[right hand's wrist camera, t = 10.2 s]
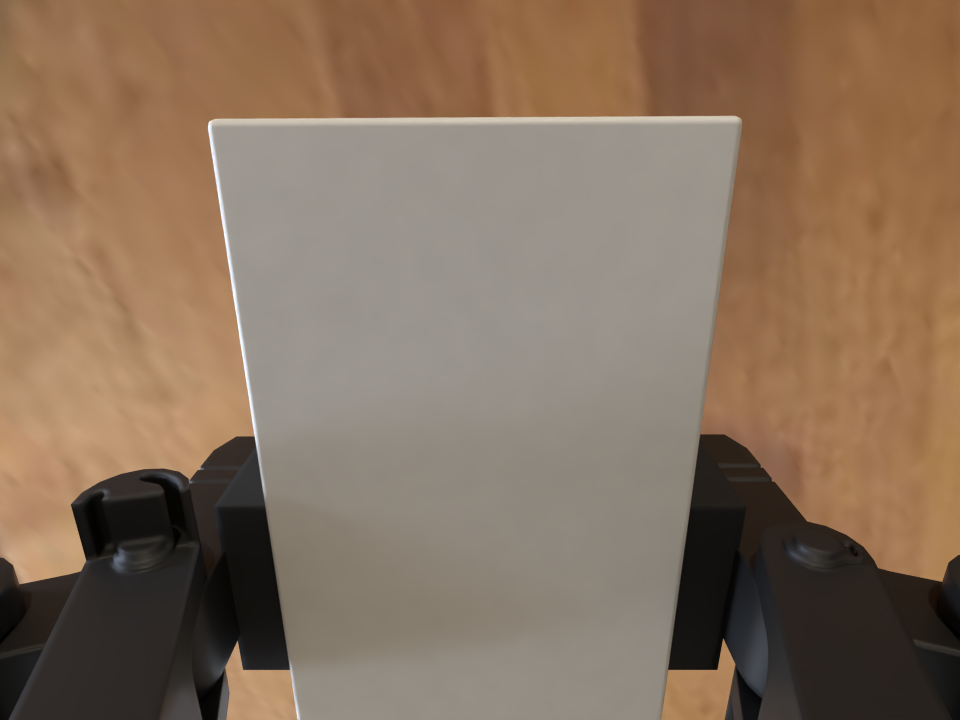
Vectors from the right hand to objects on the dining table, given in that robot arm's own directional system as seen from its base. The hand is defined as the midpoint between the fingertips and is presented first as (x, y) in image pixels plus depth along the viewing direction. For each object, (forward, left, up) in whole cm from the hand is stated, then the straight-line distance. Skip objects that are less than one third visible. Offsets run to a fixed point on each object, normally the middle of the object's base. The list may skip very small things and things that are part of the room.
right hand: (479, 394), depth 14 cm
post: (+3, -24, -1) cm, 24 cm away
